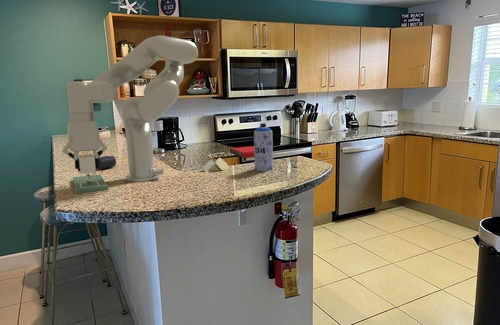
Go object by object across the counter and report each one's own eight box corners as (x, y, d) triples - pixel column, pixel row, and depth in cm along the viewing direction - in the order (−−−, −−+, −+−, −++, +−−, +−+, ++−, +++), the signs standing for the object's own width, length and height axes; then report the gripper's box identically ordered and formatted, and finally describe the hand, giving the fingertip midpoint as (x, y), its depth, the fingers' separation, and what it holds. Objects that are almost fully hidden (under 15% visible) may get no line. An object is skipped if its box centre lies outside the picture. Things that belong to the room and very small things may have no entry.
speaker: (110, 166, 170) (91, 170, 163) (108, 155, 170) (89, 158, 162) (118, 166, 166) (99, 170, 159) (116, 155, 166) (97, 158, 158)
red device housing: (230, 157, 188) (229, 148, 187) (254, 155, 194) (254, 146, 193) (243, 162, 172) (242, 152, 171) (269, 159, 178) (269, 150, 177)
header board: (73, 180, 140) (72, 177, 140) (100, 177, 145) (100, 174, 145) (76, 193, 120) (76, 190, 119) (108, 189, 124) (107, 186, 124)
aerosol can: (250, 173, 145) (249, 123, 142) (259, 169, 152) (258, 122, 148) (268, 174, 141) (267, 124, 138) (276, 171, 148) (275, 122, 145)
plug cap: (79, 170, 129) (77, 155, 128) (93, 169, 131) (92, 153, 130) (80, 174, 122) (79, 157, 121) (95, 172, 124) (94, 156, 124)
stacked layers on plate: (216, 184, 148) (225, 177, 146) (202, 167, 147) (210, 160, 145) (224, 174, 157) (233, 167, 155) (211, 159, 156) (219, 152, 154)
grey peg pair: (86, 183, 129) (85, 173, 129) (91, 182, 130) (90, 173, 129) (87, 185, 126) (86, 176, 125) (92, 185, 126) (91, 175, 126)
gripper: (107, 116, 131) (111, 166, 134) (54, 118, 123) (60, 170, 126) (109, 117, 124) (114, 169, 127) (54, 119, 116) (60, 174, 119)
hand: (87, 169), depth 127 cm, fingers closed on plug cap, 4 cm apart
